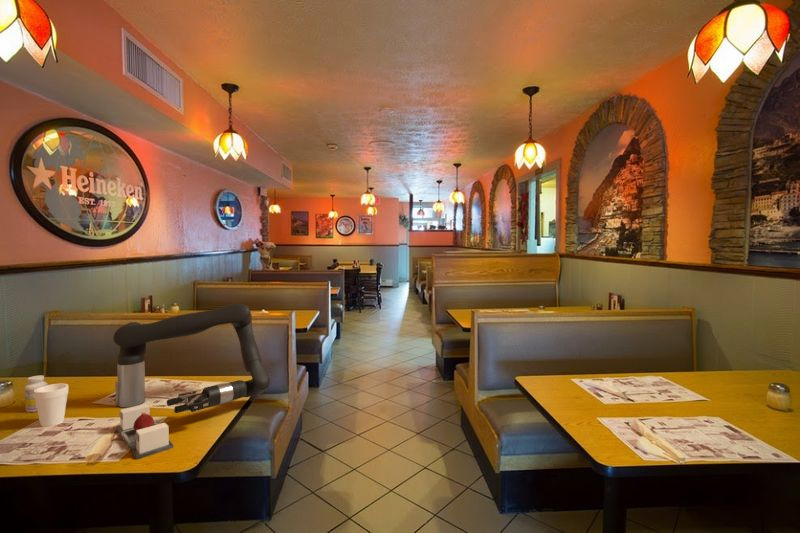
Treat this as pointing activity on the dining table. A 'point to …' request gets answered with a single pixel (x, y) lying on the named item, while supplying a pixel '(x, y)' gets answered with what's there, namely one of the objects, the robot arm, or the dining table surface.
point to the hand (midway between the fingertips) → (170, 406)
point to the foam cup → (51, 403)
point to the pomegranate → (143, 421)
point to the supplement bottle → (32, 392)
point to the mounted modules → (144, 429)
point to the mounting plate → (131, 442)
